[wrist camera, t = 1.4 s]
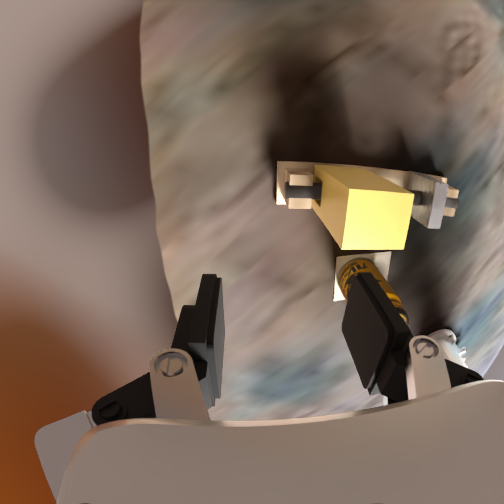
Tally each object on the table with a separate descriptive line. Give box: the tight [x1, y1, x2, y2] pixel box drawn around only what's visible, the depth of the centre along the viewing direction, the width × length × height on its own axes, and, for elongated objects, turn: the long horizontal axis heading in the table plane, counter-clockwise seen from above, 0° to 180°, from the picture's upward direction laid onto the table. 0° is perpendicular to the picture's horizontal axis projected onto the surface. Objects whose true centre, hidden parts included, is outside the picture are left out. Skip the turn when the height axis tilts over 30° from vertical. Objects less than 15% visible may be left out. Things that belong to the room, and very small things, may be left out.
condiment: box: [334, 251, 409, 326], centre depth 34 cm, size 7×8×12 cm
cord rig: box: [276, 161, 459, 217], centre depth 31 cm, size 24×5×5 cm, turn 89°
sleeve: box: [312, 165, 414, 250], centre depth 26 cm, size 6×5×11 cm
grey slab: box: [407, 171, 448, 229], centre depth 30 cm, size 2×5×6 cm, turn 0°
